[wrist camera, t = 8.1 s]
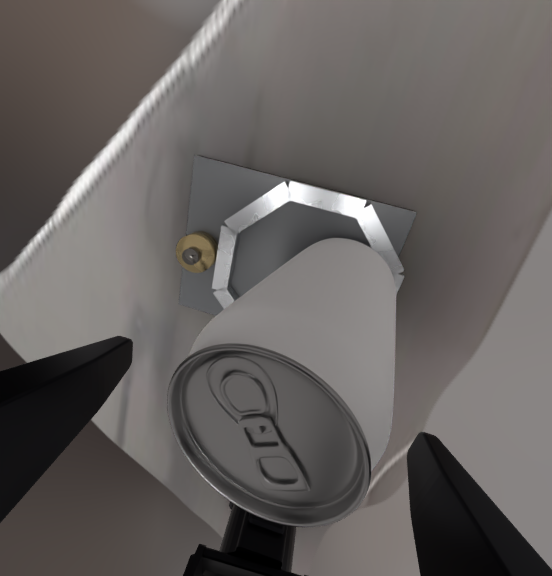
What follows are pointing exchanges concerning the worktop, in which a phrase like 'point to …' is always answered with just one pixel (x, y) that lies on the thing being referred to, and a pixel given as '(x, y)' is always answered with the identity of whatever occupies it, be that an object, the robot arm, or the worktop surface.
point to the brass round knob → (197, 251)
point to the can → (294, 387)
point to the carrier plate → (265, 227)
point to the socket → (308, 197)
